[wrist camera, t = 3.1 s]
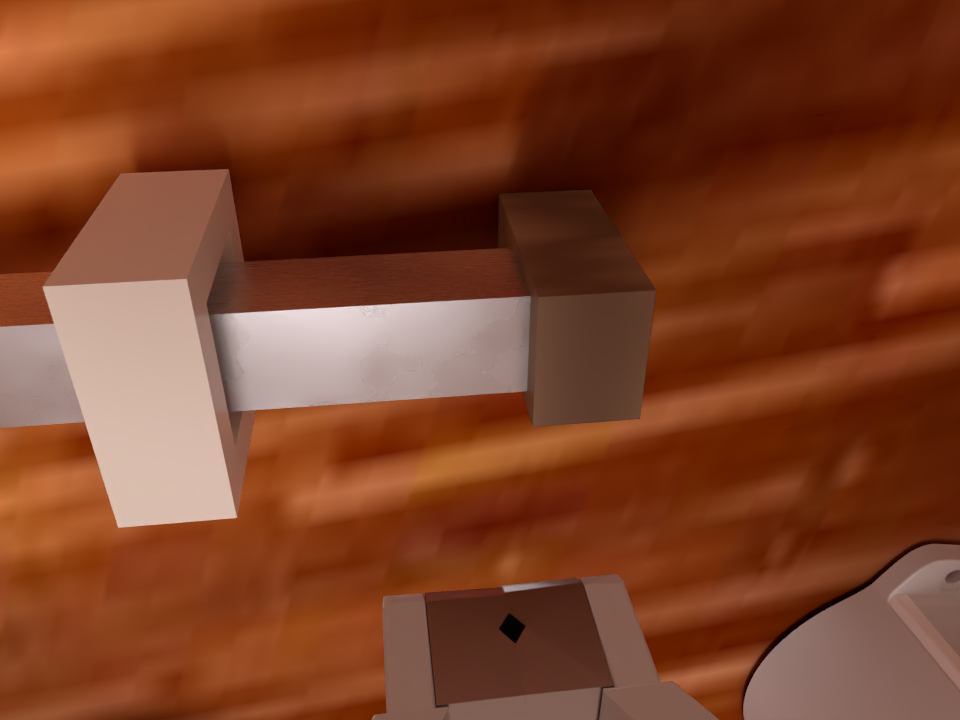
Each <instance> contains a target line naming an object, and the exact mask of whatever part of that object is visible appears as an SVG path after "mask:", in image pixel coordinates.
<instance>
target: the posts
mask: <svg viewBox="0 0 960 720" xmlns="http://www.w3.org/2000/svg"><path fill="white" fill-rule="evenodd" d="M499 248H513V250H514V252H515V255H516V258H517V260H518V263H519V266H520V269H521V271H522V274H523V277H524V279H525V282H526V285H527V288H528V290H529V293H530V296H531V300H530V327H529V354H528V380H527V391H522V392H523V395H524V399H525V402H526V406H527V409H528V412H529V416H530V419H531V423H532V426H533V427H538V426H552V425H565V424H579V423H592V422H606V421H619V420H633V419H640V413H641V405H642V397H643V390H644V382H645V374H646V366H647V358H648V351H649V343H650V335H651V327H652V319H653V312H654V304H655V296H656V289H655V288H654V286H653V285H652V283H651V282H650V280H649V278H648V277H647V275H646V274H645V272H644V271H643V269H642V268H641V266H640V265H639V263H638V261H637V260H636V258H635V257H634V255H633V254H632V252H631V251H630V249H629V247H628V246H627V244H626V243H625V241H624V240H623V238H622V237H621V235H620V234H619V232H618V230H617V229H616V227H615V226H614V224H613V223H612V221H611V220H610V218H609V216H608V215H607V213H606V212H605V210H604V209H603V207H602V206H601V204H600V203H599V201H598V199H597V198H596V196H595V195H594V193H593V192H592V190H591V189H590V190H568V191H545V192H523V193H501V194H499V195H498V249H499Z"/></svg>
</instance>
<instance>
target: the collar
mask: <svg viewBox="0 0 960 720" xmlns="http://www.w3.org/2000/svg"><path fill="white" fill-rule="evenodd" d="M227 262H244V258H243V252H242V246H241V240H240V234H239V228H238V222H237V216H236V210H235V204H234V198H233V192H232V186H231V180H230V174H229V169H218V170H193V171H168V172H144V173H121V174H120V175H119V176H118V178H117V179H116V181H115V182H114V184H113V185H112V187H111V188H110V189H109V191H108V192H107V194H106V195H105V197H104V198H103V200H102V201H101V202H100V204H99V205H98V207H97V208H96V210H95V211H94V213H93V214H92V215H91V217H90V218H89V220H88V221H87V223H86V224H85V226H84V227H83V229H82V230H81V231H80V233H79V234H78V236H77V237H76V239H75V240H74V242H73V243H72V244H71V246H70V247H69V249H68V250H67V252H66V253H65V255H64V256H63V257H62V259H61V260H60V262H59V263H58V265H57V266H56V268H55V269H54V270H53V272H52V273H51V275H50V276H49V278H48V279H47V281H46V282H45V284H44V285H43V286H42V287H43V290H44V293H45V296H46V300H47V303H48V306H49V309H50V312H51V316H52V319H53V322H54V325H55V328H56V331H57V335H58V338H59V341H60V344H61V347H62V350H63V354H64V357H65V360H66V363H67V366H68V369H69V373H70V376H71V379H72V382H73V385H74V389H75V392H76V395H77V398H78V401H79V404H80V408H81V411H82V414H83V417H84V420H85V423H86V427H87V430H88V433H89V436H90V439H91V442H92V446H93V449H94V452H95V455H96V458H97V462H98V465H99V468H100V471H101V474H102V477H103V481H104V484H105V487H106V490H107V493H108V496H109V500H110V503H111V506H112V509H113V512H114V515H115V519H116V522H117V525H118V528H120V527H132V526H144V525H156V524H168V523H180V522H192V521H204V520H217V519H229V518H237V514H238V509H239V503H240V497H241V492H242V486H243V480H244V475H245V469H246V463H247V458H248V452H249V446H250V441H251V435H252V429H253V424H254V418H255V412H256V410H249V411H235V412H228V409H227V404H226V399H225V394H224V389H223V384H222V379H221V374H220V369H219V364H218V359H217V354H216V349H215V344H214V339H213V334H212V329H211V324H210V319H209V314H208V309H207V304H206V303H207V300H208V296H209V293H210V290H211V287H212V284H213V281H214V278H215V275H216V272H217V268H218V265H219V263H227Z"/></svg>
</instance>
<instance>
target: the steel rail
mask: <svg viewBox="0 0 960 720" xmlns="http://www.w3.org/2000/svg"><path fill="white" fill-rule="evenodd" d="M51 273H52V272H34V273H14V274H0V428H5V427H19V426H34V425H48V424H62V423H77V422H85V420H84V417H83V414H82V411H81V408H80V404H79V401H78V398H77V395H76V392H75V389H74V385H73V382H72V379H71V376H70V373H69V369H68V366H67V363H66V360H65V357H64V354H63V350H62V347H61V344H60V341H59V338H58V335H57V331H56V328H55V325H54V322H53V319H52V316H51V312H50V309H49V306H48V303H47V300H46V296H45V293H44V290H43V287H42V286H43V285H44V284H45V282H46V281H47V279H48V278H49V276H50V275H51ZM530 300H531V296H530V293H529V290H528V288H527V285H526V282H525V279H524V277H523V274H522V271H521V269H520V266H519V263H518V260H517V258H516V255H515V252H514V250H513V248H499V249H479V250H460V251H440V252H421V253H402V254H382V255H363V256H344V257H324V258H305V259H285V260H266V261H247V262H227V263H219V265H218V268H217V272H216V275H215V278H214V281H213V284H212V287H211V290H210V293H209V296H208V300H207V303H206V304H207V309H208V314H209V319H210V324H211V329H212V334H213V339H214V344H215V349H216V354H217V359H218V364H219V369H220V374H221V379H222V384H223V389H224V394H225V399H226V404H227V409H228V412H235V411H249V410H263V409H278V408H292V407H307V406H321V405H335V404H350V403H364V402H378V401H393V400H407V399H421V398H436V397H450V396H464V395H479V394H493V393H508V392H522V391H527V380H528V354H529V327H530Z"/></svg>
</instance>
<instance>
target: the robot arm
mask: <svg viewBox="0 0 960 720" xmlns="http://www.w3.org/2000/svg"><path fill="white" fill-rule="evenodd" d="M382 612H383V636H384V660H385V684H386V708H387V713H384V714H377V715H374V716H373V718H372V720H719V719H718V718H716V717H715V716H714V715H713V714H712V713H710V712H709V711H708V710H707V709H706V708H704V707H703V706H702V705H701V704H700V703H698V702H697V701H696V700H695V699H693V698H692V697H691V696H690V695H689V694H687V693H686V692H685V691H684V690H683V689H681V688H680V687H679V686H678V685H677V684H675V683H674V682H673V681H669V682H661V681H660V679H659V676H658V673H657V671H656V668H655V665H654V663H653V660H652V657H651V654H650V652H649V649H648V646H647V644H646V641H645V638H644V636H643V633H642V630H641V627H640V625H639V622H638V619H637V617H636V614H635V611H634V609H633V606H632V603H631V600H630V598H629V595H628V592H627V590H626V587H625V584H624V582H623V580H622V579H621V577H620V576H619V575H618V574H613V575H603V576H594V577H584V578H579V579H577V578H570V579H561V580H552V581H543V582H533V583H524V584H515V585H506V586H501V587H497V588H483V589H469V590H455V591H441V592H427V593H425V595H424V594H423V593H420V594H408V595H395V596H384V597H383V606H382ZM743 715H744V720H960V545H949V544H929V545H924V546H921V547H919V548H917V549H915V550H913V551H911V552H910V553H908V554H907V555H905V556H904V557H902V558H901V559H900V560H899V561H897V562H896V563H895V564H894V565H892V566H891V567H890V568H889V569H888V570H887V571H886V572H884V573H883V574H882V575H881V576H880V577H879V578H878V579H877V580H876V581H874V582H873V583H872V584H871V585H870V586H868V587H866V588H865V589H863V590H862V591H860V592H858V593H856V594H855V595H853V596H851V597H849V598H847V599H845V600H843V601H841V602H839V603H837V604H835V605H833V606H831V607H829V608H827V609H826V610H824V611H822V612H820V613H819V614H817V615H816V616H814V617H812V618H811V619H809V620H808V621H806V622H805V623H803V624H802V625H801V626H799V627H798V628H797V629H795V630H794V631H793V632H791V633H790V634H789V635H788V636H787V637H786V638H784V639H783V640H782V641H781V642H780V643H779V644H778V645H777V646H776V647H775V648H774V649H773V650H772V651H771V652H770V653H769V654H768V656H767V657H766V658H765V659H764V660H763V662H762V663H761V664H760V666H759V667H758V669H757V670H756V672H755V674H754V675H753V677H752V679H751V681H750V683H749V686H748V688H747V691H746V694H745V698H744V705H743Z"/></svg>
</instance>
